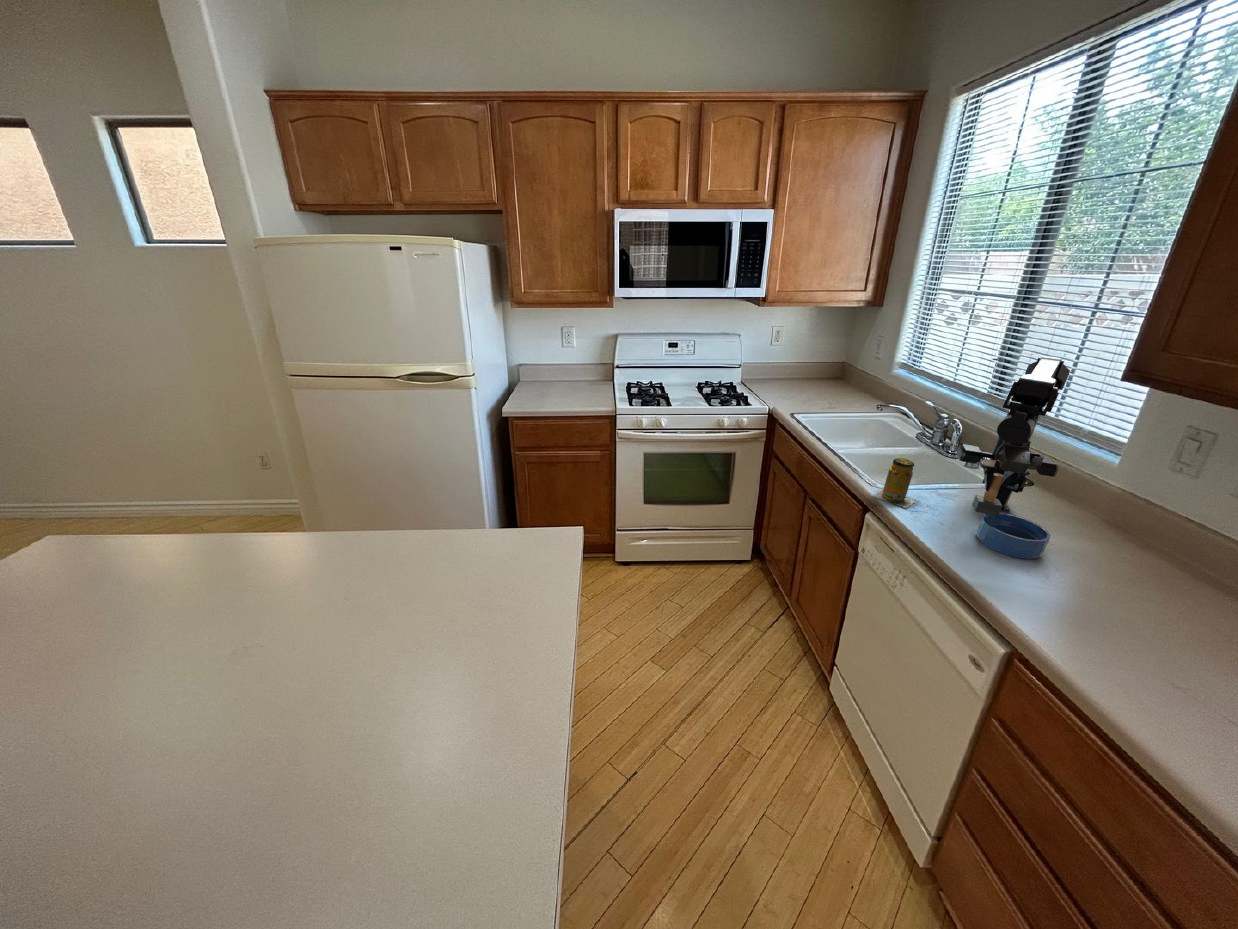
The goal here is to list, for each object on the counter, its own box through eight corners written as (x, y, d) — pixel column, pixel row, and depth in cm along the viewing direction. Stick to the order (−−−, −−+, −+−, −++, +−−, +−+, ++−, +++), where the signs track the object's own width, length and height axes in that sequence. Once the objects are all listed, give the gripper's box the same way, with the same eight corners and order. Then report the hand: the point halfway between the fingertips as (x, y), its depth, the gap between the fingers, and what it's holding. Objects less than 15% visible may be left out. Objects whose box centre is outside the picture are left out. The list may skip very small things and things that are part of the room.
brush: (971, 505, 122) (985, 469, 117) (994, 509, 120) (1008, 473, 116) (974, 512, 118) (989, 476, 114) (998, 516, 116) (1013, 480, 112)
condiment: (886, 490, 144) (897, 454, 139) (916, 501, 138) (928, 464, 133) (875, 497, 140) (886, 460, 135) (905, 509, 134) (917, 470, 129)
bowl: (970, 526, 126) (977, 508, 124) (1031, 538, 122) (1039, 520, 119) (982, 551, 115) (990, 532, 113) (1049, 566, 111) (1058, 546, 108)
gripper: (975, 435, 107) (953, 496, 114) (1080, 451, 100) (1050, 515, 107) (966, 421, 116) (946, 478, 123) (1062, 435, 109) (1035, 494, 116)
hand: (992, 491), depth 117 cm, fingers closed on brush, 2 cm apart
